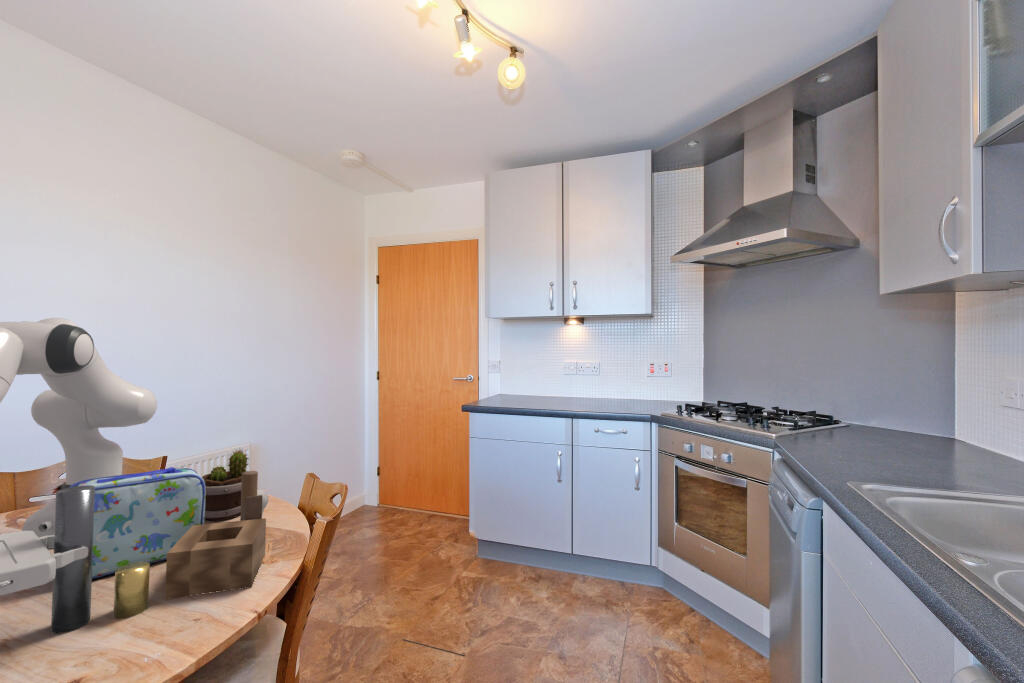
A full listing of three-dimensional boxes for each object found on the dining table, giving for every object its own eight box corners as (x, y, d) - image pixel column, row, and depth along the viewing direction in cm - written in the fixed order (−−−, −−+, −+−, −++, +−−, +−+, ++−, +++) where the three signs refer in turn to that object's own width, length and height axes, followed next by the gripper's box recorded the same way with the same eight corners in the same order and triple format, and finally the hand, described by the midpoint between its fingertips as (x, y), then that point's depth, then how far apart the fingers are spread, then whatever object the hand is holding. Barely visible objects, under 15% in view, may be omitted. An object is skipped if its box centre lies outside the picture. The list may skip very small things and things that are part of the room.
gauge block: (165, 599, 88) (166, 553, 88) (191, 565, 102) (192, 525, 103) (251, 587, 93) (252, 543, 93) (264, 556, 107) (266, 518, 108)
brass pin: (107, 620, 81) (109, 576, 81) (121, 605, 86) (122, 563, 86) (141, 615, 83) (142, 572, 83) (152, 601, 87) (154, 560, 88)
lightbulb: (249, 525, 126) (250, 486, 126) (271, 525, 126) (272, 486, 126) (237, 534, 120) (238, 493, 120) (261, 534, 120) (262, 492, 120)
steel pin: (43, 635, 77) (48, 495, 77) (61, 619, 81) (66, 486, 82) (80, 630, 78) (85, 492, 79) (96, 614, 83) (100, 484, 83)
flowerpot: (190, 528, 123) (192, 455, 124) (197, 511, 136) (199, 445, 137) (251, 519, 130) (253, 450, 131) (252, 503, 144) (254, 441, 144)
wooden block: (244, 557, 107) (246, 481, 107) (238, 541, 115) (240, 471, 116) (261, 553, 109) (263, 479, 109) (254, 538, 117) (256, 469, 118)
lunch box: (197, 539, 116) (199, 458, 117) (208, 551, 109) (210, 465, 110) (54, 574, 97) (58, 477, 98) (56, 592, 90) (60, 488, 91)
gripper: (-33, 573, 64) (97, 541, 75) (-46, 537, 75) (68, 514, 87) (-35, 618, 63) (95, 579, 75) (-48, 575, 75) (66, 546, 87)
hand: (80, 543), depth 81 cm, fingers open, 8 cm apart
